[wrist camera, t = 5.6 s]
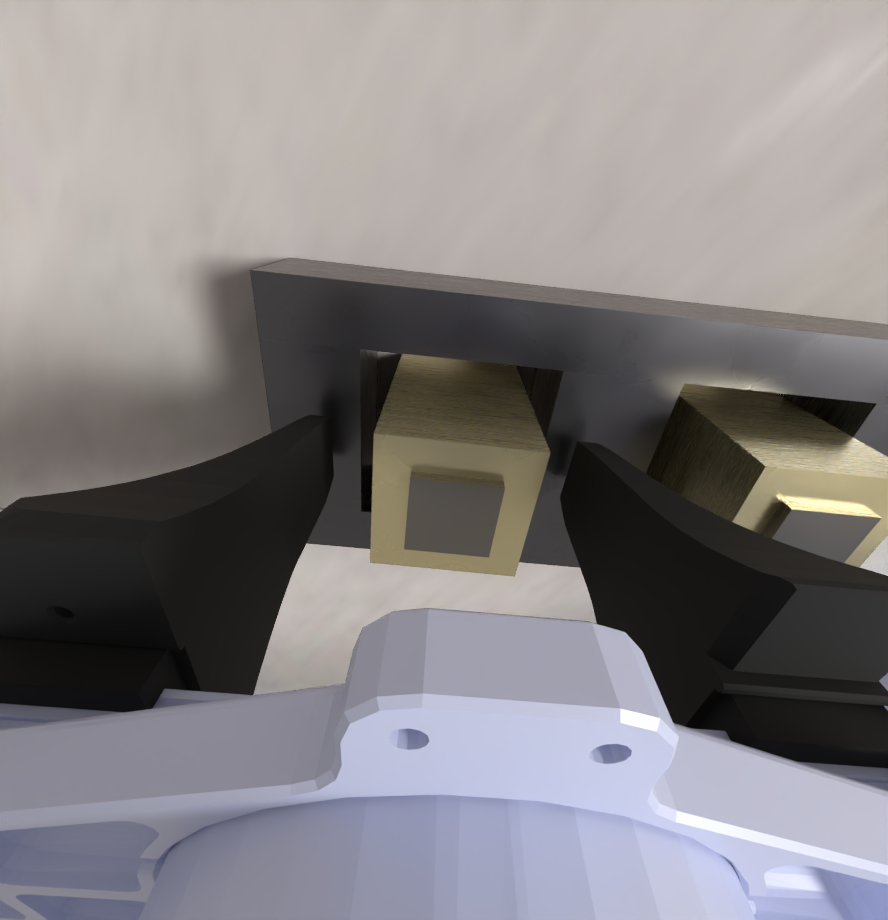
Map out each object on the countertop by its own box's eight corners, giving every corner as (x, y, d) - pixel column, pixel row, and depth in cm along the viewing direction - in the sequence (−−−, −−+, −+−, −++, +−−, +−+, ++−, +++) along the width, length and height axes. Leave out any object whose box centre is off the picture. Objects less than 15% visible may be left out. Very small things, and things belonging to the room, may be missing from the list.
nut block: (516, 366, 14) (553, 459, 9) (495, 462, 16) (516, 584, 11) (402, 353, 14) (371, 439, 9) (396, 451, 16) (368, 571, 11)
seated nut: (765, 387, 15) (946, 490, 9) (715, 479, 17) (839, 607, 11) (655, 375, 14) (774, 473, 9) (618, 470, 17) (698, 595, 11)
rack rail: (908, 327, 13) (1017, 354, 11) (768, 534, 18) (820, 588, 15) (291, 257, 13) (250, 269, 10) (311, 492, 17) (286, 541, 15)
